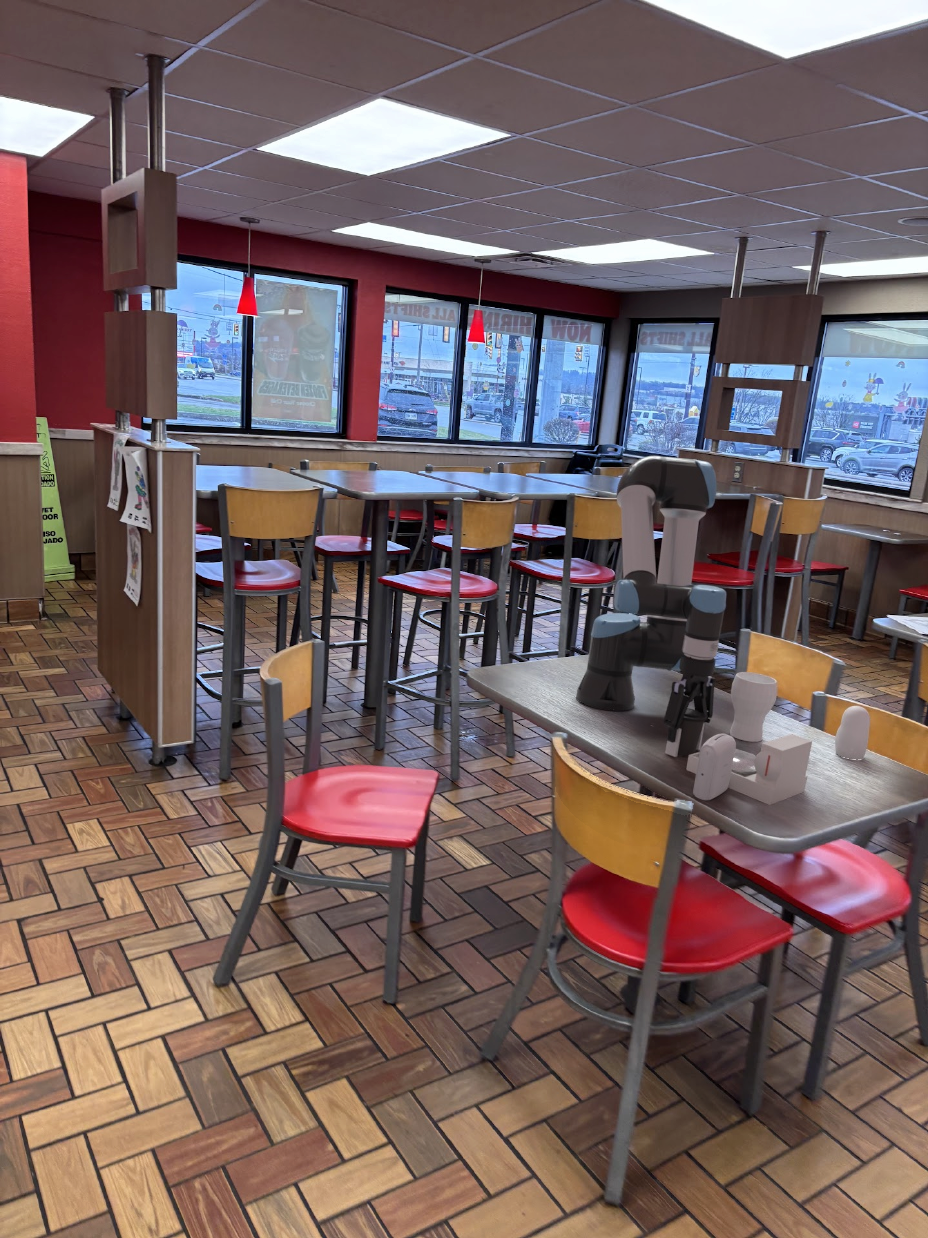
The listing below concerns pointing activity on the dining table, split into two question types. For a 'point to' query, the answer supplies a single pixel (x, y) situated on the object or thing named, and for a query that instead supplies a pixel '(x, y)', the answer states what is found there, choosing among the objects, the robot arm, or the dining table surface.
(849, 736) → the figurine
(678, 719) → the robot arm
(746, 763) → the pan
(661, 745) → the dining table surface
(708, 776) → the photo printer
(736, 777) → the base
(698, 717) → the coffee cup
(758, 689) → the cup
